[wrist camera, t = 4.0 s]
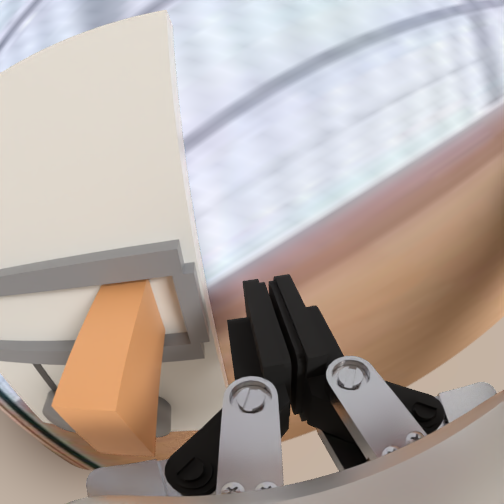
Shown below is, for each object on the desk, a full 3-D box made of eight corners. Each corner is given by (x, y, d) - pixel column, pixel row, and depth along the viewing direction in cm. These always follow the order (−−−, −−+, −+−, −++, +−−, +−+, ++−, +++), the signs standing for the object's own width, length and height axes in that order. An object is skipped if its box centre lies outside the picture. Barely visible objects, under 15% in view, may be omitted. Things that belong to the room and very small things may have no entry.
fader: (148, 276, 11) (115, 410, 5) (165, 330, 12) (155, 456, 7) (103, 282, 10) (51, 405, 5) (124, 333, 12) (98, 452, 6)
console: (173, 26, 8) (160, -7, 5) (233, 403, 18) (238, 444, 15) (-69, 140, 7) (-106, 154, 4) (49, 404, 17) (39, 436, 14)
